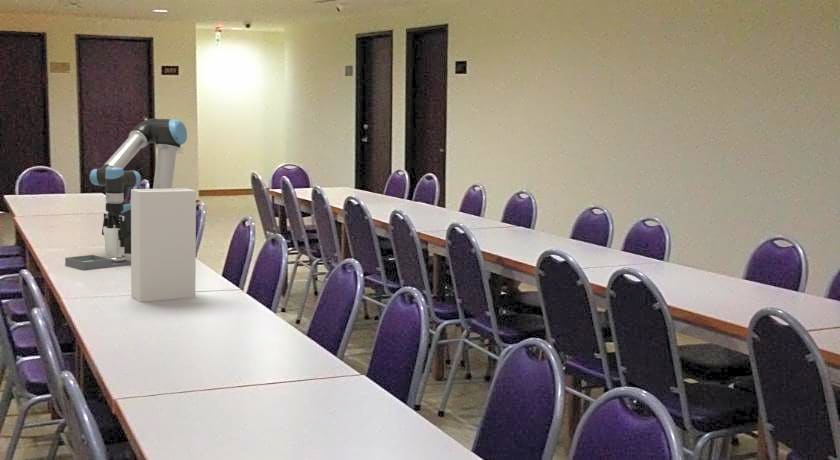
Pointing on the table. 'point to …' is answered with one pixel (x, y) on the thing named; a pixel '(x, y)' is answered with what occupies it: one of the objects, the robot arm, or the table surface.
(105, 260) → the dark gray tray
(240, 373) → the table surface
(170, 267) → the storage box
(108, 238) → the foam cup
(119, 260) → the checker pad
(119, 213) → the robot arm
